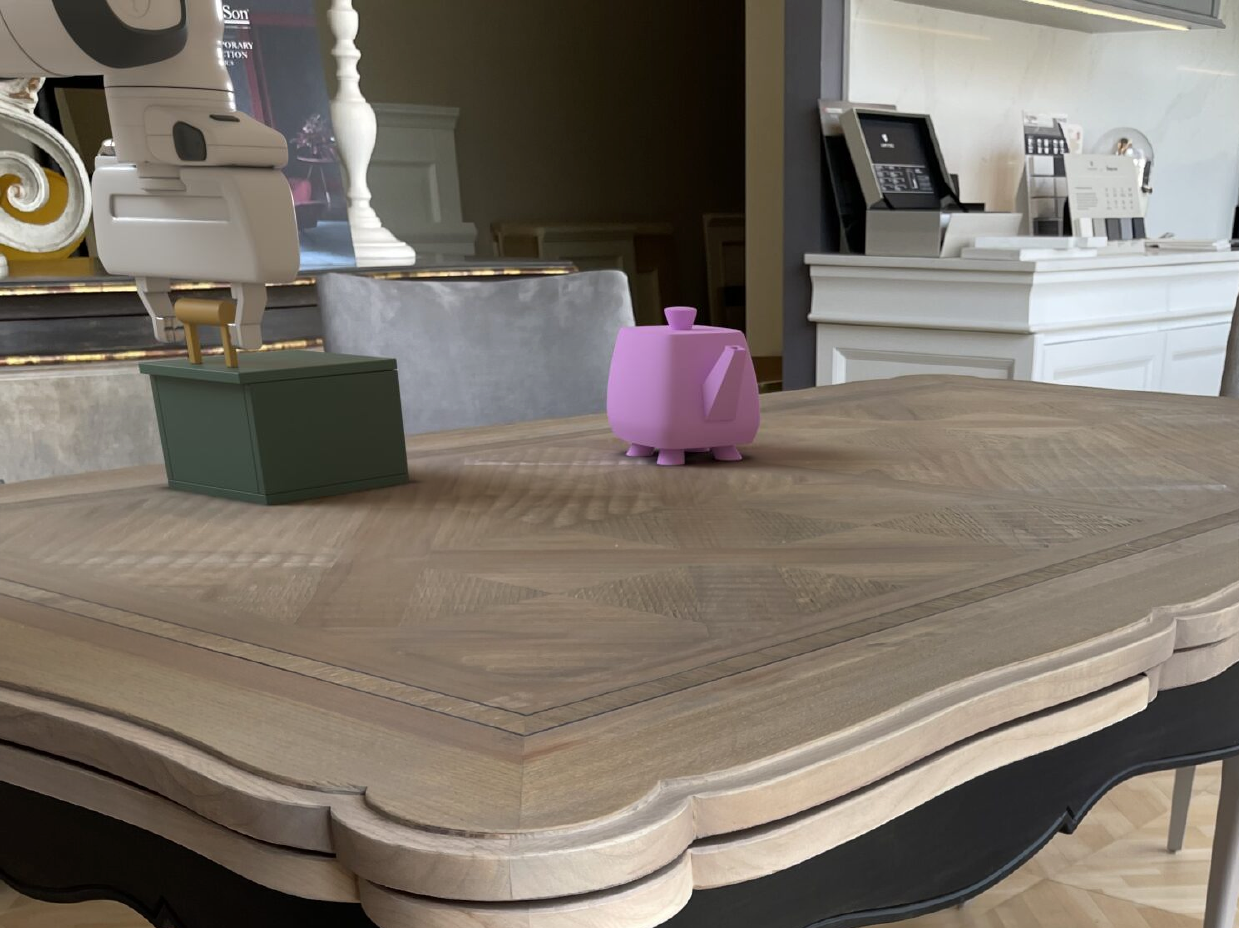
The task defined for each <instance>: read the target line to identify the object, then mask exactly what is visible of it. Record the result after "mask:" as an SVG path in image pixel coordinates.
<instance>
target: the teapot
mask: <svg viewBox="0 0 1239 928" xmlns="http://www.w3.org/2000/svg"><path fill="white" fill-rule="evenodd" d="M697 312H698V311H697V309H696V308H695V307H691V306H671V307H666V308H664V315H665V317H666V321H667V323H668V324H667V325H642V326H640V325H639V326H637V325H636V326H622V327H620V329H619V330H618V332H617V333H618V334H617V337H616V341H615V344H614V350H613V353H612V357H611V362H610V367H609V372H608V380H607V391H606V414H607V420H608V422H609V426H610V429H611V430H612V433H613V434H614V436H615V437H616V438H618V439H620V440H622V441H625V442H628V443H631V445H630V446H629V448H628V450H627V452H626V453H625V455H626V456H628V457H651V456H653V455H654V451H655V449H657V448H658V449H659V453H658V457H657V461H656V464H657V465H661V466H678V465H679V466H680V465H684V464H685V462H686V461H685V452H687V453H688V452H690V453H706V452H710V448H711V450H712V453H713V457H714V459H715V460H719V461H739V460H742V459H743V457H742V455H741V453H740V452H739V450H738V449H737V447H736V446H741V445H749V444H752V443H753V442H754V440H755V438H756V437H757V435H758V434H757V433H758V431H759V428H760V426H761V425H760V424H761V420H762V419H761V401H760V393H759V386H758V381H757V375H756V372H755V367H754V363H753V359H752V357H751V353H750V349H749V346H748V342H747V340H746V337H745V333H743V331H742V330H738V329H732V328H726V327H721V326H720V327H718V326H709V325H699V324H694V322H695V320H696V316H697Z"/></svg>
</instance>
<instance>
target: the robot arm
mask: <svg viewBox="0 0 1239 928" xmlns="http://www.w3.org/2000/svg"><path fill="white" fill-rule="evenodd" d="M225 21H226V20H225V15H224V6H223V0H0V83H1V82H7V81H14V80H17V79H21V78H24V79H25V78H27V79H28V78H70V77H74V76H103V87H104V94H105V99H106V106H107V110H108V117H109V123H110V129H111V134H112V138H107V139H105V140H103V141H102V143H101V146H100V148H99V150H98V152H97V156H95V158H94V171H93V174H92V177H91V203H92V204H91V205H92V217H93V226H94V236H95V244H96V250H97V251H96V252H97V255H98V259H99V260H100V262H101V264H102V266H103V268H104V269H105V271H106V272H107V273H108V274H110V275H116V276H117V275H118V276H131V277H133V276H134V281H135V285H136V286H135V287H136V292H137V294H138V296H139V298H140V300H141V301H142V304H143V306H144V308H145V309H146V311H147V313H148V314H149V316H150V317H151V321H152V328H153V333H154V338H155V339H156V341H157V342H160V343H170V344H171V343H174V344H175V343H184V341H185V340H186V334H185V328H184V323H182V322H180V321H179V320H178V319H177V317H176V315H175V312H174V307H173V304H172V302H171V299H170V297H169V294H168V293H171V292H172V288H171V280H170V279H182V280H193V281H194V280H196V281H213V282H225V283H226V282H227V283H229V286H230V291H231V298H232V299H233V300H237V302H236V316H235V323H233V324H228V326H229V333H230V335H231V345H232V347H234V348H235V349H236V350H242V351H257V350H258V351H259V350H261V349H262V348H263V338H262V329H261V324H262V321H263V317H264V313H265V309H266V306H267V302H268V293H267V292H268V291H267V285H272V284H273V285H276V284H277V285H279V284H292V283H294V282H295V281H296V279H297V277H298V273H299V270H300V267H301V248H300V238H299V237H300V236H299V228H298V222H297V214H296V208H295V201H294V197H293V192H292V189H291V185H290V183H289V181H288V179H287V177H286V176H285V174H284V173H283V172H282V171H281V170H280V169H282V168H285V167H287V166H288V163H289V148H288V143H287V139H286V137H285V136H284V134H282V133H281V132H280V131H278V130H276V129H273V128H272V127H270V126H268V125H266V124H264V123H262V122H260V121H258V120H257V119H254V118H253V117H251V116H250V115H248V114H247V113H245V112H243V111H241V110H237V105H236V104H237V103H236V95H235V94H236V93H235V88H234V84H233V80H232V79H231V76H230V74H229V71H228V69H227V65H226V60H225V56H224V33H225V23H226V22H225Z"/></svg>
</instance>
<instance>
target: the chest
mask: <svg viewBox="0 0 1239 928" xmlns="http://www.w3.org/2000/svg"><path fill="white" fill-rule="evenodd" d="M148 376H149V381H150V387H151V392H152V398H153V404H154V409H155V415H156V421H157V427H158V433H159V438H160V444H161V449H162V455H163V461H164V466H165V472H166V473H165V474H166V478H167V485H168V489H169V490H174V491H181V492H187V493H191V494H198V495H204V496H210V497H215V498H220V499H221V498H222V499H227V500H233V501H239V502H246V503H251V504H256V505H264V506H273V505H278V504H284V503H291V502H296V501H303V500H310V499H314V498H316V499H317V498H322V497H328V496H333V495H334V496H335V495H340V494H346V493H352V492H359V491H364V490H365V491H366V490H371V489H377V488H382V487H383V488H384V487H389V486H396V485H402V484H408V483H409V484H410V474H409V465H408V457H407V445H406V437H405V428H404V426H405V425H404V416H403V408H402V399H401V398H402V397H401V389H400V388H401V387H400V379H399V371H398V370H397V369H394V370H384V371H373V372H363V373H353V374H343V375H333V376H322V377H312V378H302V379H292V380H282V381H271V382H261V383H251V384H232V383H223V382H214V381H204V380H195V379H186V378H177V377H168V376H159V375H150V374H148Z"/></svg>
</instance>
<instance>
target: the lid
mask: <svg viewBox="0 0 1239 928" xmlns="http://www.w3.org/2000/svg"><path fill="white" fill-rule="evenodd" d="M236 308H237V306H236V305H235V304H234V303H233V302H232V301H229V300H220V299H219V300H217V299H204V298H187V297H181V298H178V299H177V300H176V301H175V303H174V307H173V309H174V312H175V315H176V317H177V319H178V320H179V321H180V322H182V323H184V332H185V340H186V346H187V352H188V357H189V358H178V359H177V358H175V359H166V360H152V361H151V360H150V361H141V362H138V363H137V365H138V370H139V374H142V375H149V374H150V375H159V376H168V377H177V378H186V379H195V380H204V381H214V382H223V383H232V384H251V383H261V382H271V381H282V380H292V379H302V378H312V377H322V376H333V375H343V374H353V373H363V372H373V371H384V370H397V369H398V360H397V358H394V357H393V358H392V357H382V356H373V355H370V356H369V355H359V354H348V353H340V352H339V353H338V352H326V351H315V350H306V349H305V350H304V349H286V350H277V351H276V350H275V351H274V350H273V351H263V352H251V353H240V354H239V353H238V352H237V349H235V348H234V347H232V345H231V335H230V333H229V326H228V324H233V323H235V316H236ZM198 326H210V327H219V328H220V334H221V335H220V336H221V341H222V347H223V353H224V355H215V356H203V355H202V350H201V343H200V338H199V337H200V336H199V331H198Z"/></svg>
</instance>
